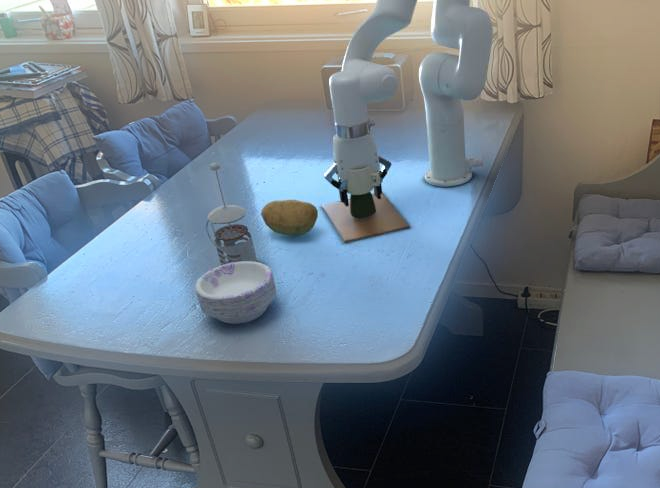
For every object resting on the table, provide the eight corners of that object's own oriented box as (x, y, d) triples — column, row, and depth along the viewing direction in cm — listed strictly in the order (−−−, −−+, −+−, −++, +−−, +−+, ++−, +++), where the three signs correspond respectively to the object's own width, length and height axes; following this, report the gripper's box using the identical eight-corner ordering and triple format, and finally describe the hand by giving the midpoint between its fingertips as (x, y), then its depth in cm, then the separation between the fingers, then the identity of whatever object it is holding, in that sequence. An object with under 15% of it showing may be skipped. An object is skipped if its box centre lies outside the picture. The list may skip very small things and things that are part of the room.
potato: (276, 221, 187) (270, 191, 182) (327, 227, 183) (322, 196, 178) (256, 239, 180) (249, 208, 175) (309, 245, 176) (303, 214, 171)
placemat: (381, 193, 196) (381, 191, 196) (409, 228, 179) (409, 225, 179) (322, 207, 192) (321, 204, 192) (345, 243, 175) (344, 240, 175)
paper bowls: (232, 287, 162) (223, 255, 158) (293, 298, 157) (286, 264, 152) (188, 326, 151) (178, 292, 147) (253, 338, 146) (244, 303, 141)
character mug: (389, 210, 186) (383, 159, 179) (378, 223, 181) (372, 172, 173) (349, 206, 190) (342, 157, 182) (337, 219, 184) (329, 168, 177)
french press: (242, 286, 163) (213, 175, 148) (203, 274, 168) (172, 167, 153) (272, 265, 169) (248, 157, 154) (234, 255, 174) (207, 150, 160)
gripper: (383, 117, 178) (391, 187, 188) (311, 131, 173) (323, 202, 184) (393, 126, 172) (400, 199, 182) (319, 141, 168) (331, 214, 178)
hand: (361, 200), depth 183 cm, fingers closed on character mug, 7 cm apart
